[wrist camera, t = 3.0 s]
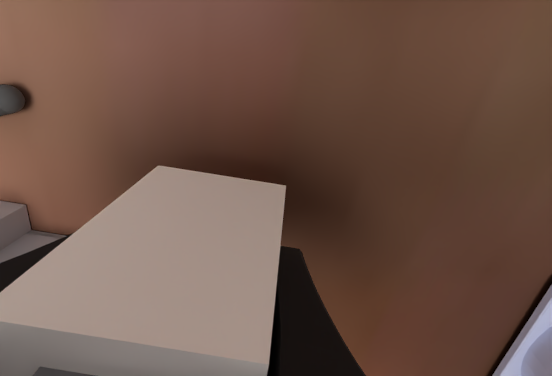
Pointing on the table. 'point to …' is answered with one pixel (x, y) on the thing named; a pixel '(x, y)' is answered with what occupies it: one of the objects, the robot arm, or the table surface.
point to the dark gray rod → (10, 100)
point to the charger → (154, 285)
